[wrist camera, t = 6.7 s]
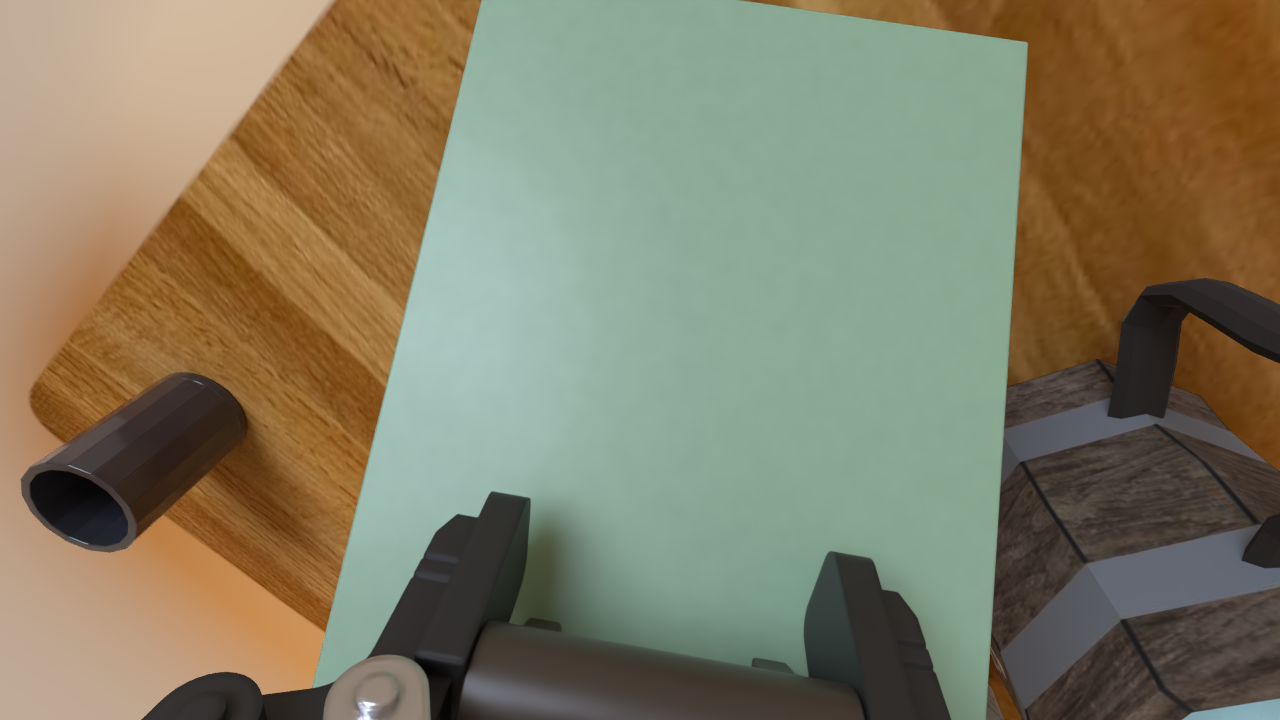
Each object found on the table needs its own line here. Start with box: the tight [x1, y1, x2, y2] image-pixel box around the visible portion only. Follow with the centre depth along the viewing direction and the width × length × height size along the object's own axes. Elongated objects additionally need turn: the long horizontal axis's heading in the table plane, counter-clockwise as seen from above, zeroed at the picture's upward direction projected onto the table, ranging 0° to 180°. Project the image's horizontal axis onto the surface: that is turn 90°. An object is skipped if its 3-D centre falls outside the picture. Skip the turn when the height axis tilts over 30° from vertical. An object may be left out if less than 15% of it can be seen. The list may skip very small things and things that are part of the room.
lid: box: [312, 0, 1028, 720], centre depth 12 cm, size 18×13×5 cm
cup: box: [21, 372, 247, 552], centre depth 33 cm, size 5×5×8 cm
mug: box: [990, 278, 1280, 720], centre depth 25 cm, size 20×14×15 cm
